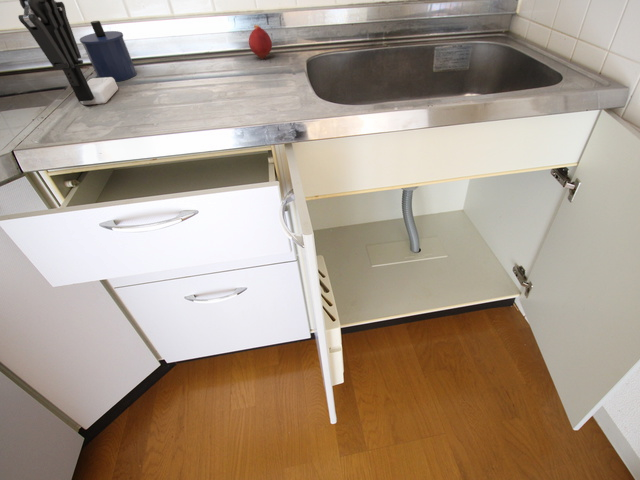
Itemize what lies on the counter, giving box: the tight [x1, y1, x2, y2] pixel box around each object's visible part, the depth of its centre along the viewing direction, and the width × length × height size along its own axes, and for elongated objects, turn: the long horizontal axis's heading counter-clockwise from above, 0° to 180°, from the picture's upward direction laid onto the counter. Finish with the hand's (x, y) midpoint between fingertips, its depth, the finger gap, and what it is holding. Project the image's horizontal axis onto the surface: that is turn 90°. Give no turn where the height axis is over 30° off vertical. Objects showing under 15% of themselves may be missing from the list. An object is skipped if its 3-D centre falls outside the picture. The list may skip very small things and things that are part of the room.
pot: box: [81, 36, 137, 83], centre depth 96 cm, size 9×9×8 cm
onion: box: [248, 24, 273, 60], centre depth 102 cm, size 6×6×8 cm
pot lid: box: [79, 20, 124, 45], centre depth 92 cm, size 9×9×4 cm
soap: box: [79, 77, 119, 106], centre depth 87 cm, size 9×6×3 cm, turn 6°
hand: (86, 99), depth 83 cm, fingers closed
